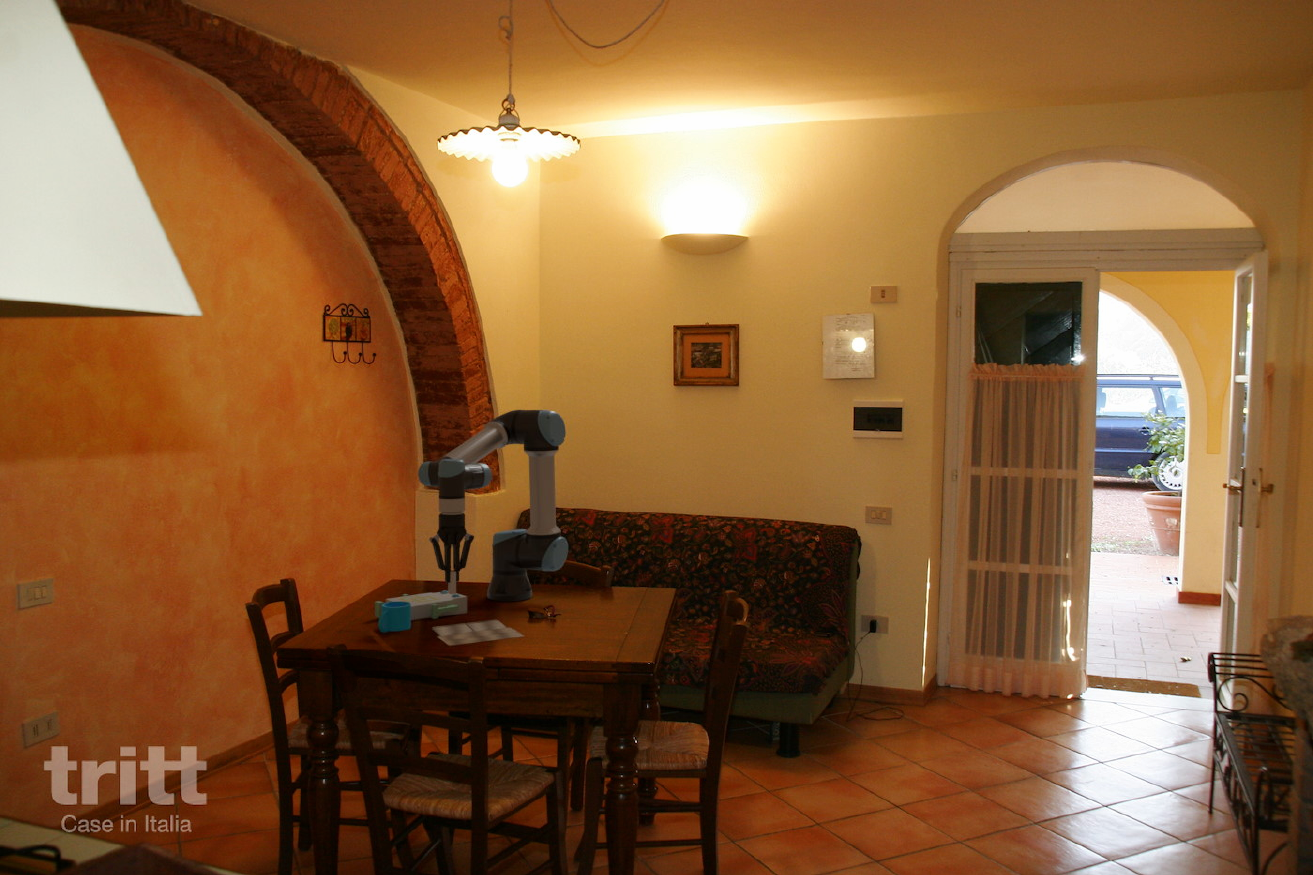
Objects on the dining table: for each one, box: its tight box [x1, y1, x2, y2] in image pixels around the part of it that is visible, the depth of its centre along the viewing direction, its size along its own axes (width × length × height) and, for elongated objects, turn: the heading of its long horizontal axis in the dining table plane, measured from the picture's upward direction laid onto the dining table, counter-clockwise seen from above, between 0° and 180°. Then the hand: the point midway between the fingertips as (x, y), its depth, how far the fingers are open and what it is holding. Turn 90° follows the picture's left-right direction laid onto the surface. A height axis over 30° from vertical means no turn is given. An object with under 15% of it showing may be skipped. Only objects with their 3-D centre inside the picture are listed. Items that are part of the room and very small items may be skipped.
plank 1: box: [431, 623, 474, 636], centre depth 273 cm, size 10×8×1 cm
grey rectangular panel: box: [465, 619, 508, 632], centre depth 278 cm, size 10×8×1 cm
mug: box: [377, 601, 412, 634], centre depth 273 cm, size 12×8×8 cm
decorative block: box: [374, 589, 468, 621], centre depth 295 cm, size 26×6×20 cm
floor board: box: [437, 627, 525, 646], centre depth 267 cm, size 22×11×1 cm, turn 120°
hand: (452, 593), depth 273 cm, fingers closed
